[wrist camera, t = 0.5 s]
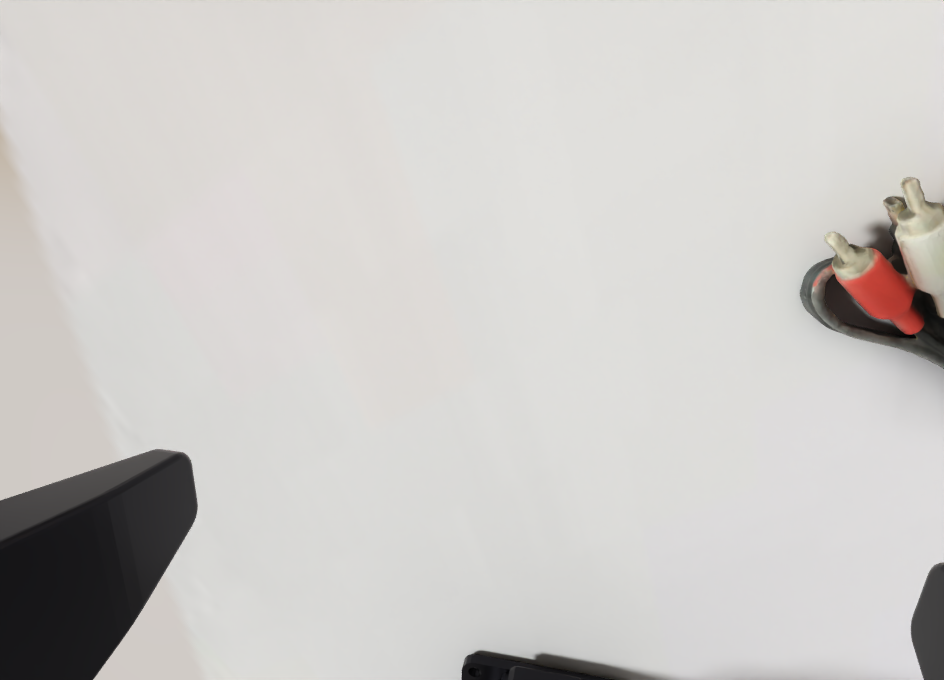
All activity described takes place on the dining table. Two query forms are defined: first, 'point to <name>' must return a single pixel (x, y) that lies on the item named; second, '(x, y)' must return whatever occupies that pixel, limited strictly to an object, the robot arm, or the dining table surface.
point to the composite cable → (891, 278)
